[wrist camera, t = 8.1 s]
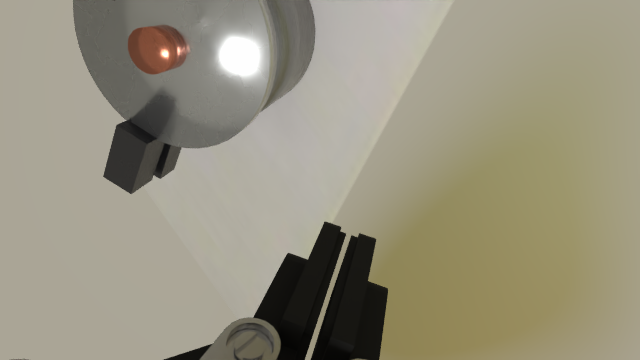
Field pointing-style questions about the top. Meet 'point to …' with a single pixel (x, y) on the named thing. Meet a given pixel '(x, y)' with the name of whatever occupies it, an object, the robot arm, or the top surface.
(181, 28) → the cooker lid
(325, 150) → the top surface
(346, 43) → the top surface
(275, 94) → the cooker pot
